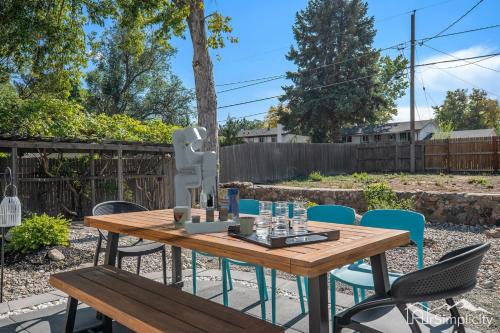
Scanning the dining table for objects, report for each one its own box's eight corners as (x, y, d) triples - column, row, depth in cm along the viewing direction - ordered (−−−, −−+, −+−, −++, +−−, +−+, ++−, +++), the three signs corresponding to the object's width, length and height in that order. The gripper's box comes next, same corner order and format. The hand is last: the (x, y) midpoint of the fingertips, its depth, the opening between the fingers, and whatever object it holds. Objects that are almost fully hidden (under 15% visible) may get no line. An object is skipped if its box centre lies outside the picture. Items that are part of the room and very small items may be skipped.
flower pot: (258, 233, 204) (258, 216, 204) (252, 236, 195) (252, 219, 196) (241, 232, 208) (241, 216, 208) (235, 235, 199) (235, 218, 199)
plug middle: (205, 222, 216) (205, 207, 216) (212, 221, 217) (212, 207, 217) (207, 223, 212) (207, 208, 212) (214, 222, 214) (214, 208, 214)
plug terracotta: (219, 221, 219) (219, 207, 219) (225, 220, 220) (225, 206, 220) (221, 222, 215) (221, 207, 215) (228, 221, 217) (228, 207, 217)
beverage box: (226, 222, 246) (225, 188, 246) (239, 224, 239) (238, 188, 239) (218, 224, 241) (218, 188, 241) (231, 225, 234) (231, 189, 234)
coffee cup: (169, 227, 226) (169, 207, 226) (179, 225, 234) (179, 206, 234) (182, 228, 221) (182, 207, 221) (192, 226, 230) (192, 206, 230)
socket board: (184, 230, 215) (184, 221, 215) (228, 227, 225) (228, 219, 225) (189, 233, 204) (189, 224, 204) (235, 230, 214) (235, 221, 214)
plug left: (191, 230, 213) (191, 215, 213) (198, 229, 214) (198, 215, 214) (193, 231, 209) (193, 216, 209) (200, 230, 211) (200, 215, 211)
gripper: (199, 173, 220) (199, 206, 220) (206, 173, 207) (207, 208, 206) (212, 173, 223) (212, 205, 223) (220, 173, 209) (220, 207, 209)
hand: (210, 206), depth 215 cm, fingers closed
